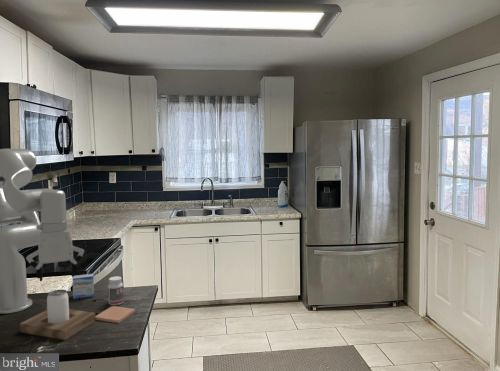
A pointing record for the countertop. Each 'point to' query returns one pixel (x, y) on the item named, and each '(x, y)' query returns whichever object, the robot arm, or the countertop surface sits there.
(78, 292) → the medicine box
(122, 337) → the countertop surface
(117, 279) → the pill bottle
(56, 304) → the can
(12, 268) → the robot arm
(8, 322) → the countertop surface
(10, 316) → the countertop surface
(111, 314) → the tile
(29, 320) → the well board
